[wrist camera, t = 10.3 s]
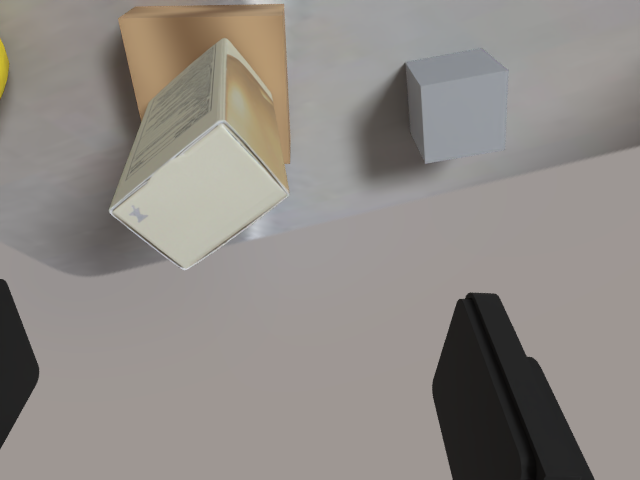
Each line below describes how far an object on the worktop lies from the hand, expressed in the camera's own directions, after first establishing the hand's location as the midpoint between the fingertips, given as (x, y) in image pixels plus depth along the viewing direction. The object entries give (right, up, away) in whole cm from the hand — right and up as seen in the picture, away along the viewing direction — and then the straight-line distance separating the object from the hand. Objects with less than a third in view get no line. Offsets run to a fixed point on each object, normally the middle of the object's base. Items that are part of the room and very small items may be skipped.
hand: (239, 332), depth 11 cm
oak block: (-5, +13, +23) cm, 26 cm away
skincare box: (-5, +11, +19) cm, 22 cm away
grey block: (+10, +12, +23) cm, 28 cm away
